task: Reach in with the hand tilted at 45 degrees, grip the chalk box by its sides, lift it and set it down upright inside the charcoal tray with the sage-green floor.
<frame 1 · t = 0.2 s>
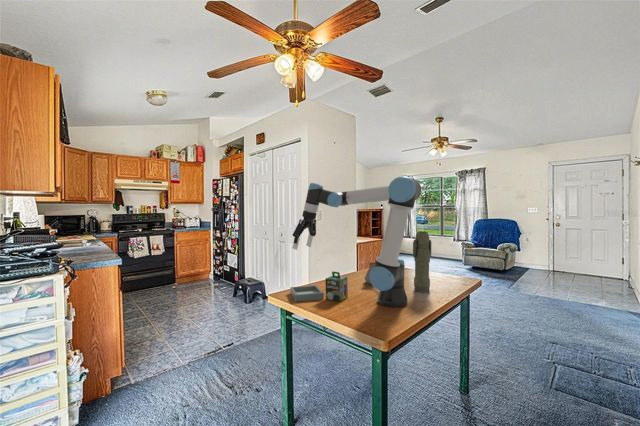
hand: (301, 247, 163), 27 cm above the table, tool pointing down, fingers open, 13 cm apart
green stone statue: (421, 290, 174), on the table
coffee pot: (378, 285, 185), on the table
chalk box: (336, 298, 159), on the table
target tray: (306, 296, 163), on the table
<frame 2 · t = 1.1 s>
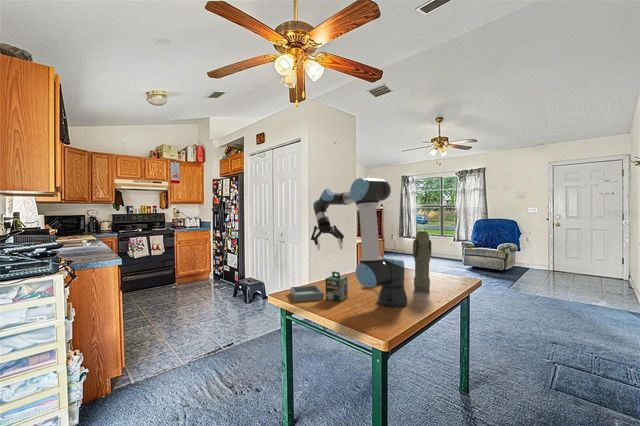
hand: (330, 248, 168), 26 cm above the table, tool tilted 45°, fingers open, 13 cm apart
nothing on the table moved.
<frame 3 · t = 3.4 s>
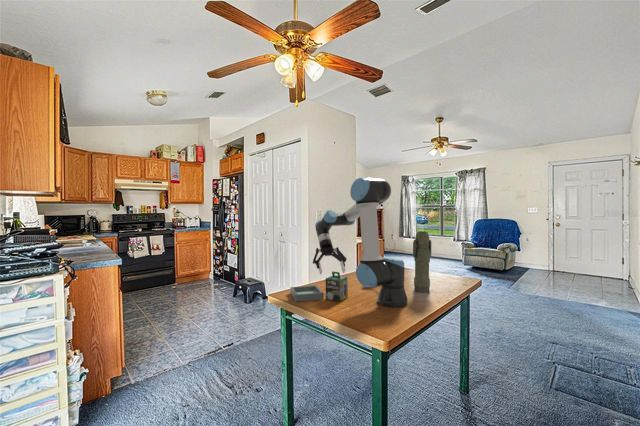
hand: (332, 272, 164), 13 cm above the table, tool tilted 45°, fingers open, 13 cm apart
nothing on the table moved.
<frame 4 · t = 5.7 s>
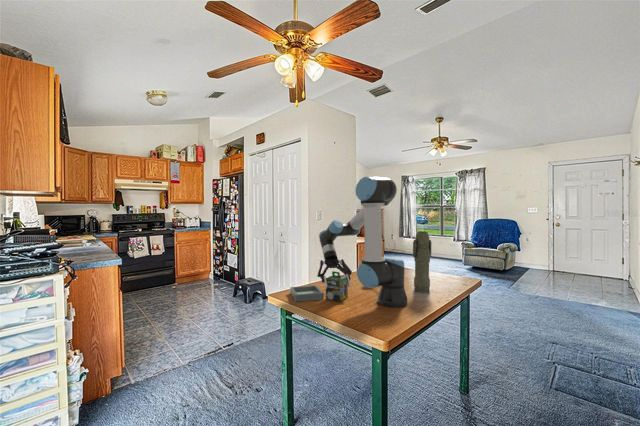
hand: (338, 286, 156), 7 cm above the table, tool tilted 45°, fingers closed on chalk box, 12 cm apart
chalk box: (336, 298, 159), on the table, touching gripper
everything else where it was.
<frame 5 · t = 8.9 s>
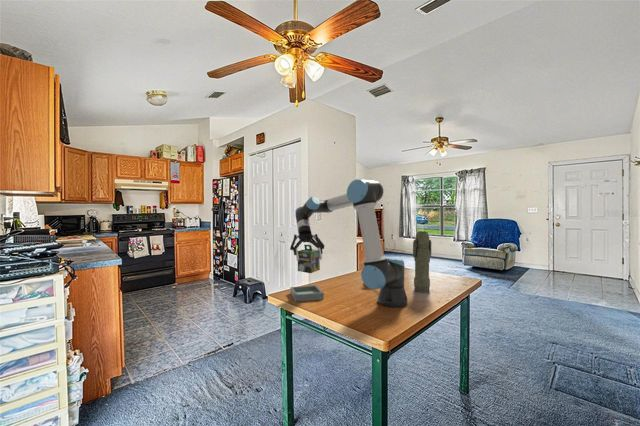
hand: (309, 259, 160), 21 cm above the table, tool tilted 45°, fingers closed on chalk box, 12 cm apart
chalk box: (308, 271, 163), point 14 cm above the table, touching gripper
everything else where it was.
when the fingers open (9 cm above the table, at t = 12.4 s): chalk box drops 1 cm, resting on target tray.
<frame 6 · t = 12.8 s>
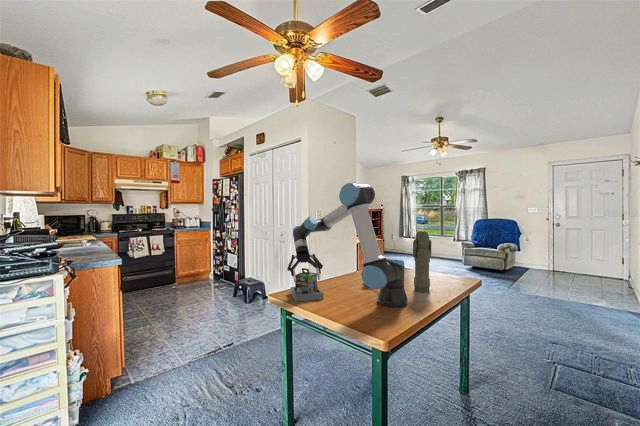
hand: (307, 279, 160), 10 cm above the table, tool tilted 45°, fingers open, 13 cm apart
chalk box: (306, 294, 163), point 1 cm above the table, touching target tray
everything else where it was.
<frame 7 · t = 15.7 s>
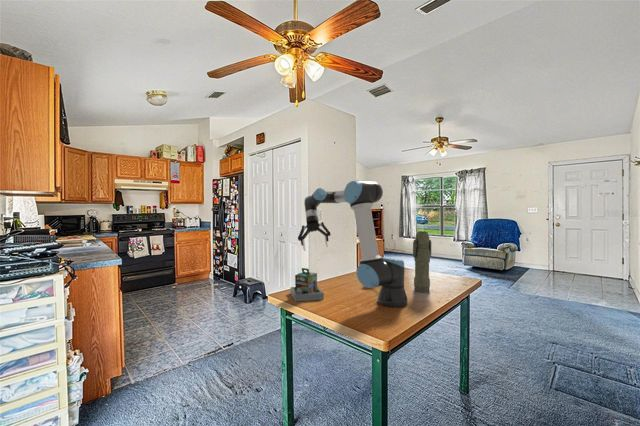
hand: (315, 248, 174), 25 cm above the table, tool tilted 35°, fingers open, 13 cm apart
nothing on the table moved.
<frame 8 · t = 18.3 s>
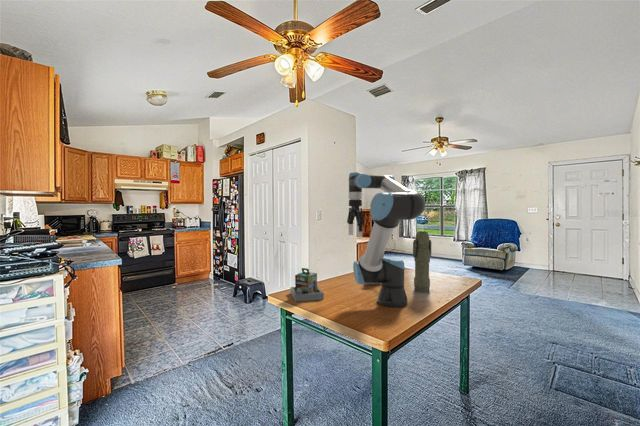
hand: (355, 236, 169), 33 cm above the table, tool pointing down, fingers open, 13 cm apart
nothing on the table moved.
at the end: chalk box inside the target area on the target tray (0.1 cm from its centre), point 0.8 cm above the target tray's base; chalk box tilted 0°; the gripper is holding nothing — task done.
